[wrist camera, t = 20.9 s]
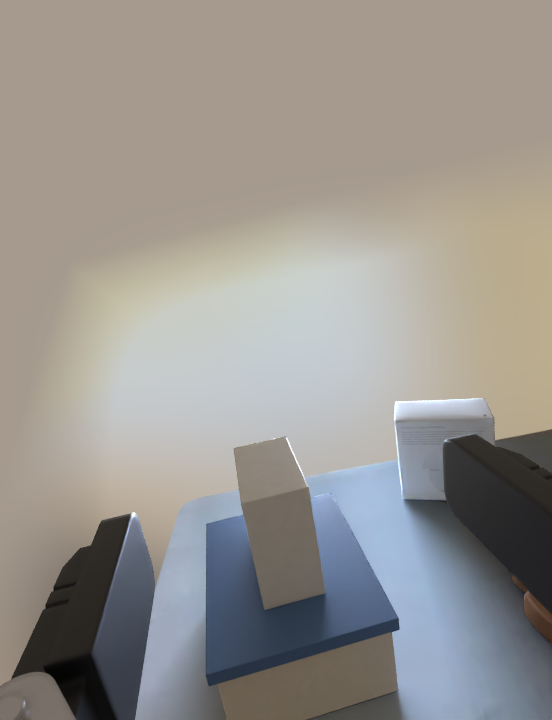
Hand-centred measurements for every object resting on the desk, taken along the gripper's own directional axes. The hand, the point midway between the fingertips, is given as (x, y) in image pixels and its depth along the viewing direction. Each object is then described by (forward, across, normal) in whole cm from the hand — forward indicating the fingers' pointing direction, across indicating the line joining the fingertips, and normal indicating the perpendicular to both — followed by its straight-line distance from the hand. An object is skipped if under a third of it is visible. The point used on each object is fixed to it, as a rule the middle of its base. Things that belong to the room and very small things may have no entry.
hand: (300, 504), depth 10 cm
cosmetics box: (+31, -22, +25) cm, 46 cm away
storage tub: (+18, 0, +25) cm, 31 cm away
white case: (+18, 0, +18) cm, 26 cm away
